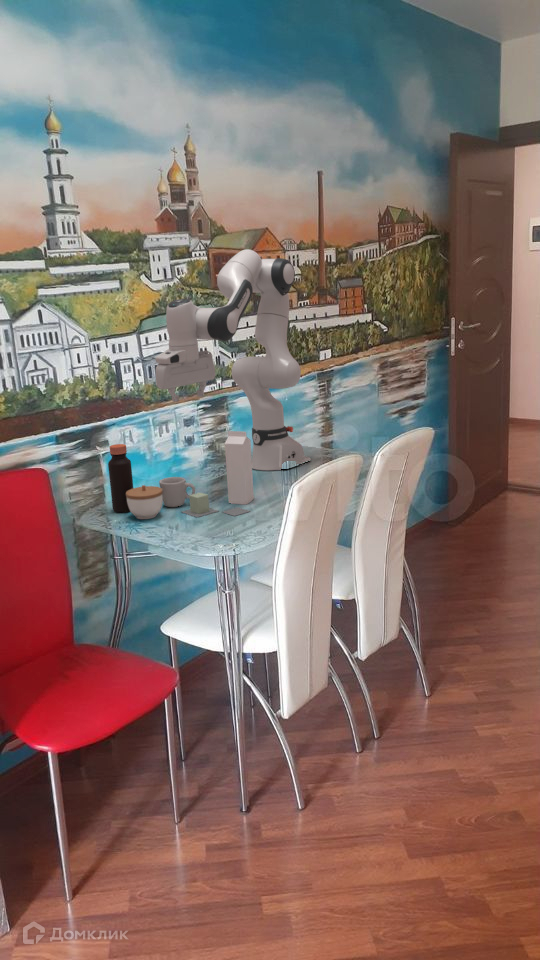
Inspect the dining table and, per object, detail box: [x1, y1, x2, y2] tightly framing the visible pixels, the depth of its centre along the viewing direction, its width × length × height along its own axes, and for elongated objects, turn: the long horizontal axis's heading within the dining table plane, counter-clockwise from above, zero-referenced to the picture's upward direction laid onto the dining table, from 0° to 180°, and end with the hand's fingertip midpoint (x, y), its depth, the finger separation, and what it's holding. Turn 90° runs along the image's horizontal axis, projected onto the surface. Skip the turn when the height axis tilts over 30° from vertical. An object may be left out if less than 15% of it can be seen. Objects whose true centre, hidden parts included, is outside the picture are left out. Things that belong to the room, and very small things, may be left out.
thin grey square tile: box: [181, 507, 219, 518], centre depth 247 cm, size 8×8×1 cm
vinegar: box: [107, 443, 134, 514], centre depth 251 cm, size 7×7×20 cm
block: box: [188, 492, 210, 514], centre depth 246 cm, size 4×4×5 cm
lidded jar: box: [126, 484, 164, 520], centre depth 244 cm, size 11×11×9 cm
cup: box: [159, 476, 196, 508], centre depth 254 cm, size 11×8×8 cm
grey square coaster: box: [222, 506, 251, 517], centre depth 245 cm, size 6×6×1 cm
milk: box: [224, 430, 255, 505], centre depth 253 cm, size 6×6×22 cm
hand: (188, 398), depth 256 cm, fingers open, 8 cm apart
